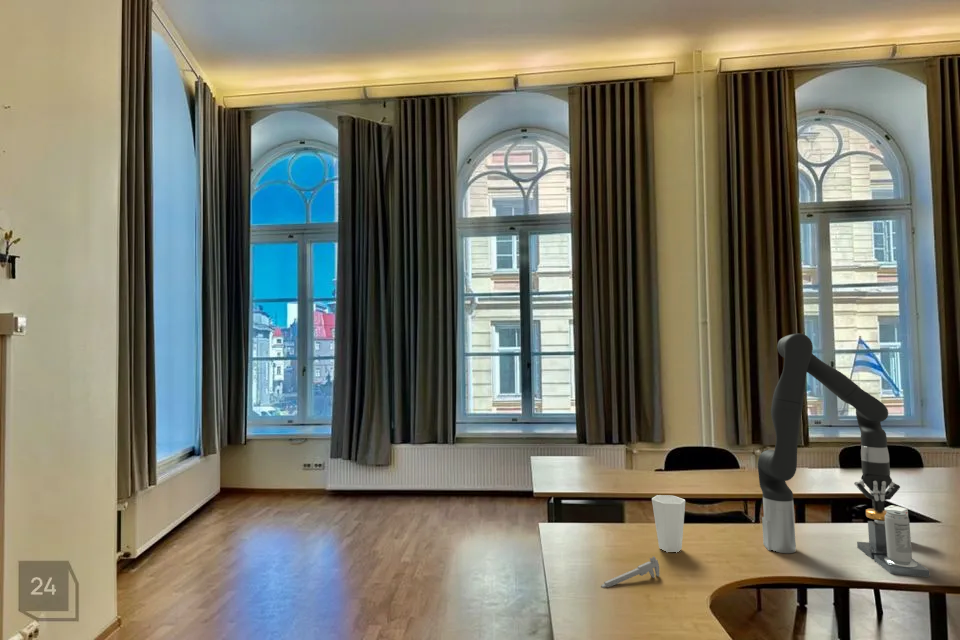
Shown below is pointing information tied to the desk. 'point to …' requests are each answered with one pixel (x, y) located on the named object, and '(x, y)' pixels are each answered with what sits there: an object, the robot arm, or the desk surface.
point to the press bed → (901, 567)
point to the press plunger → (876, 516)
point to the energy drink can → (898, 537)
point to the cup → (669, 521)
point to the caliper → (635, 573)
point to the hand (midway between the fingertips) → (878, 511)
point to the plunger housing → (874, 541)
